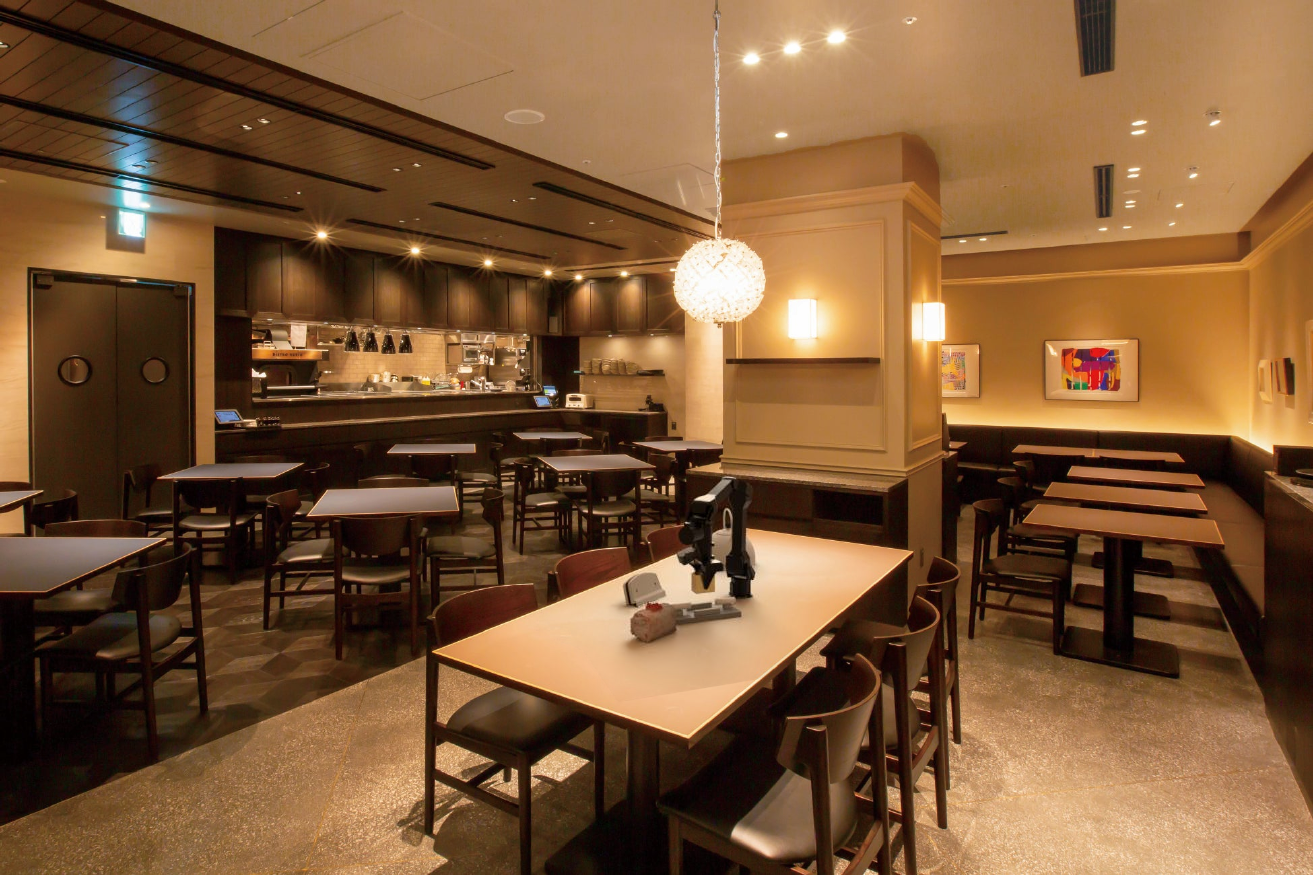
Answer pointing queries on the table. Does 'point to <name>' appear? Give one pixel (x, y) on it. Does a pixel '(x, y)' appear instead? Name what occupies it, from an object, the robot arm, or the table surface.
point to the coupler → (700, 583)
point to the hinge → (642, 589)
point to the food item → (653, 621)
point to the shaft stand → (705, 610)
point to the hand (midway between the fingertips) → (703, 587)
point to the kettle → (728, 543)
